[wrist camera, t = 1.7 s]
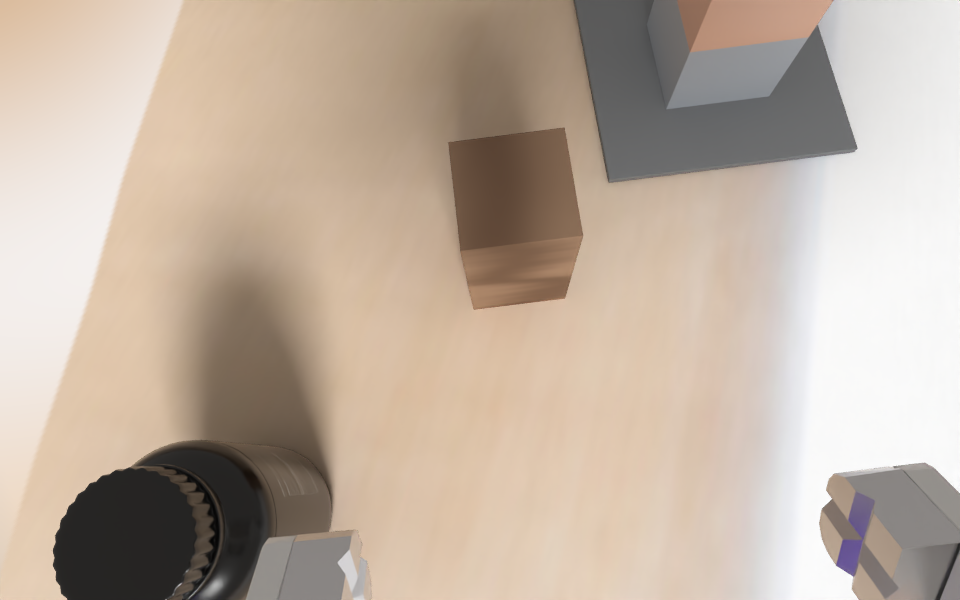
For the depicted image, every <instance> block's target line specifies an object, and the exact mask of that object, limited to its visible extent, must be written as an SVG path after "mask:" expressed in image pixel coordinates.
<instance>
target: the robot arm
mask: <svg viewBox="0 0 960 600" xmlns="http://www.w3.org/2000/svg"><path fill="white" fill-rule="evenodd" d="M826 491H827V492H828V494H829V495H830V496H831V498H832V500H831V501H830V502H829V503H828V504H827V505H825V506H824V507H823V508H822V510H821V516H820V522H819V525H820V530H821V536H822V540H823V543H824V545H825V547H826V550H827V552H828V554H829V555H830V557H831V558H832V560H833V561H834V563H835V564H836V566H838V567H839V568H841V569H843V570H844V571H846V572H847V573H849V574H851V575H852V576H853V583H852V590H853V592H854V593H855V595H856V596H857V598H858V599H859V600H960V493H959V492H958V491H957V490H956V489H955V488H954V487H953V486H952V485H951V484H950V483H949V482H948V481H947V480H946V479H945V478H944V477H943V476H942V475H941V474H940V473H939V472H938V471H937V470H936V469H935V468H933V467H932V466H930V465H928V464H926V463H918V464H909V465H901V466H894V467H882V468H874V469H866V470H859V471H851V472H843V473H835V474H833V476H832V477H831V478H830V479H829V481H828V485H827V489H826ZM361 549H362V542H361V539H360V535H359V532H358V530H346V531H335V532H323V533H312V534H301V535H294V536H283V537H273V538H268V539H267V541H266V542H265V544H264V545H263V547H262V550H261V553H260V556H259V559H258V562H257V565H256V569H255V572H254V575H253V578H252V581H251V585H250V588H249V591H248V594H247V597H246V600H372V584H371V577H370V570H369V567H368V563H367V561H366V560H364V559H363V558H361Z"/></svg>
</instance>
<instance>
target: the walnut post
mask: <svg viewBox="0 0 960 600" xmlns="http://www.w3.org/2000/svg"><path fill="white" fill-rule="evenodd" d="M448 143H449V152H450V161H451V170H452V179H453V188H454V197H455V206H456V215H457V224H458V234H459V243H460V251H461V256H462V260H463V264H464V269H465V273H466V277H467V282H468V286H469V291H470V295H471V299H472V304H473V308H474V309H482V308H491V307H499V306H507V305H515V304H523V303H531V302H540V301H548V300H556V299H564V298H565V297H566V293H567V290H568V286H569V283H570V279H571V276H572V272H573V269H574V265H575V262H576V258H577V255H578V252H579V248H580V245H581V241H582V238H583V232H582V226H581V221H580V215H579V209H578V203H577V197H576V192H575V186H574V180H573V174H572V168H571V163H570V157H569V151H568V145H567V139H566V134H565V128H558V129H550V130H542V131H534V132H526V133H519V134H511V135H503V136H495V137H487V138H479V139H471V140H463V141H456V142H448Z"/></svg>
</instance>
